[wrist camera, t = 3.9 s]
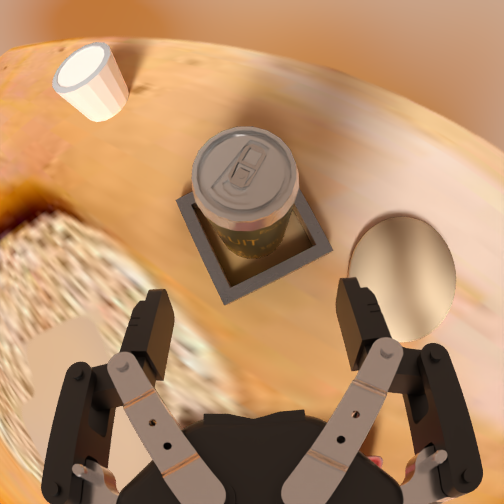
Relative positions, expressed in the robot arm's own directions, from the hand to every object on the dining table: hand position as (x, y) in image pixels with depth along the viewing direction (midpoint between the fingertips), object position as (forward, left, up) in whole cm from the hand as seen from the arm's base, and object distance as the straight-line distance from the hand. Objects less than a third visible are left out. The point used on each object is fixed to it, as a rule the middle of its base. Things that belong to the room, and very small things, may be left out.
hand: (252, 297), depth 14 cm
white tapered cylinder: (+6, -26, -11) cm, 29 cm away
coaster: (-12, +5, -11) cm, 17 cm away
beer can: (-2, -5, -11) cm, 13 cm away
